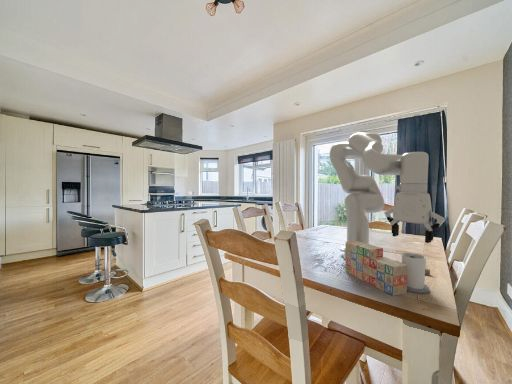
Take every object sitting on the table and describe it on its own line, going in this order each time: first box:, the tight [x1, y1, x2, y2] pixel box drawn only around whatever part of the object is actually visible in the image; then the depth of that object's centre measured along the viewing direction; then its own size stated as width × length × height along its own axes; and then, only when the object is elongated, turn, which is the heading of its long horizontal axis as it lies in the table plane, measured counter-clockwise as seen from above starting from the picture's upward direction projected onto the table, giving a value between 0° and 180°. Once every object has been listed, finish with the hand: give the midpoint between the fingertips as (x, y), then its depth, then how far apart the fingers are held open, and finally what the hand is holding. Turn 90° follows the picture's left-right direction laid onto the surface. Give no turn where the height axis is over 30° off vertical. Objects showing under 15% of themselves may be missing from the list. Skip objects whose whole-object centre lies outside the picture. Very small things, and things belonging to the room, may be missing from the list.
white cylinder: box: [401, 252, 427, 289], centre depth 72 cm, size 7×7×10 cm
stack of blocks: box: [345, 241, 408, 297], centre depth 77 cm, size 21×6×12 cm, turn 17°
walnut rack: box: [397, 260, 431, 276], centre depth 85 cm, size 12×13×2 cm
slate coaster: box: [407, 283, 430, 295], centre depth 72 cm, size 9×9×1 cm
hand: (410, 239), depth 73 cm, fingers open, 9 cm apart
